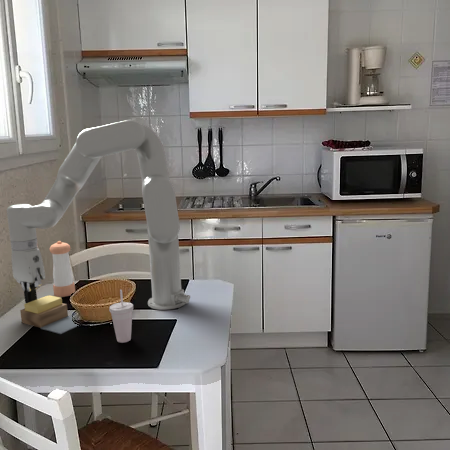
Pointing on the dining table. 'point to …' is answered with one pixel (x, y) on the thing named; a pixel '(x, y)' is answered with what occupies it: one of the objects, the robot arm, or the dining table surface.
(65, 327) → the mat
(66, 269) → the pepper shaker
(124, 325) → the smoothie
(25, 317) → the block
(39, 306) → the pale yellow block
